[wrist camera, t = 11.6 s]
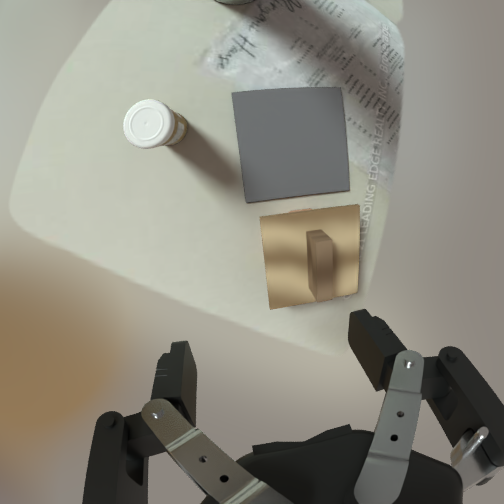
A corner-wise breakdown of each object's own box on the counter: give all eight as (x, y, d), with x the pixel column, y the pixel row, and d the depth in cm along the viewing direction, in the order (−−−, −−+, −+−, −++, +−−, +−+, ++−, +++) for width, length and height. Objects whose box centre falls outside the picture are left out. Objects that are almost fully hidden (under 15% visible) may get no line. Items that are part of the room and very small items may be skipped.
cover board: (259, 216, 35) (265, 227, 31) (357, 204, 36) (374, 213, 32) (269, 307, 40) (275, 326, 36) (355, 290, 41) (369, 306, 37)
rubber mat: (231, 93, 34) (231, 92, 33) (339, 88, 34) (340, 87, 34) (245, 201, 39) (246, 202, 39) (347, 189, 40) (349, 190, 40)
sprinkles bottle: (177, 106, 33) (157, 88, 21) (193, 134, 35) (181, 131, 23) (147, 124, 34) (113, 117, 21) (163, 152, 35) (136, 158, 23)
